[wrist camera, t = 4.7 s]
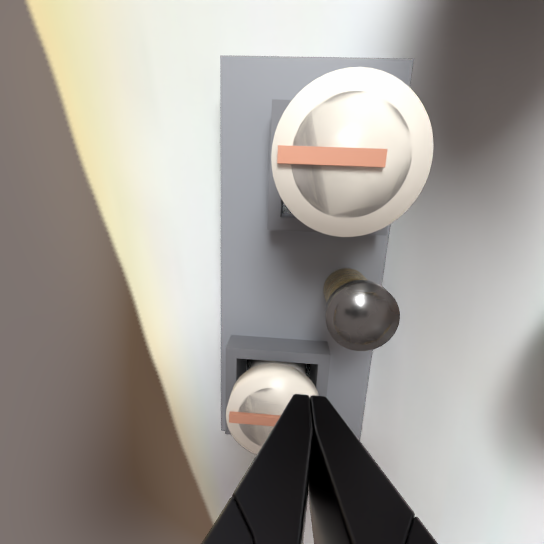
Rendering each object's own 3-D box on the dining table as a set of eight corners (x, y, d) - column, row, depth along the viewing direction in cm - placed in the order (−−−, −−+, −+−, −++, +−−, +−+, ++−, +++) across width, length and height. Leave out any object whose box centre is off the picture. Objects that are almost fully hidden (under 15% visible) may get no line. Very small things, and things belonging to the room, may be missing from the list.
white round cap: (386, 118, 13) (451, 65, 8) (372, 224, 15) (421, 241, 9) (281, 115, 14) (274, 61, 8) (276, 220, 15) (267, 234, 9)
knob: (316, 330, 19) (326, 383, 14) (311, 393, 20) (318, 465, 15) (244, 325, 20) (225, 375, 14) (242, 387, 21) (225, 457, 15)
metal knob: (376, 263, 16) (404, 285, 12) (370, 316, 16) (394, 353, 13) (320, 261, 16) (329, 281, 12) (315, 313, 17) (323, 348, 13)
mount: (395, 79, 16) (428, 42, 12) (351, 414, 21) (365, 463, 17) (231, 76, 16) (212, 38, 12) (229, 404, 21) (215, 449, 18)
